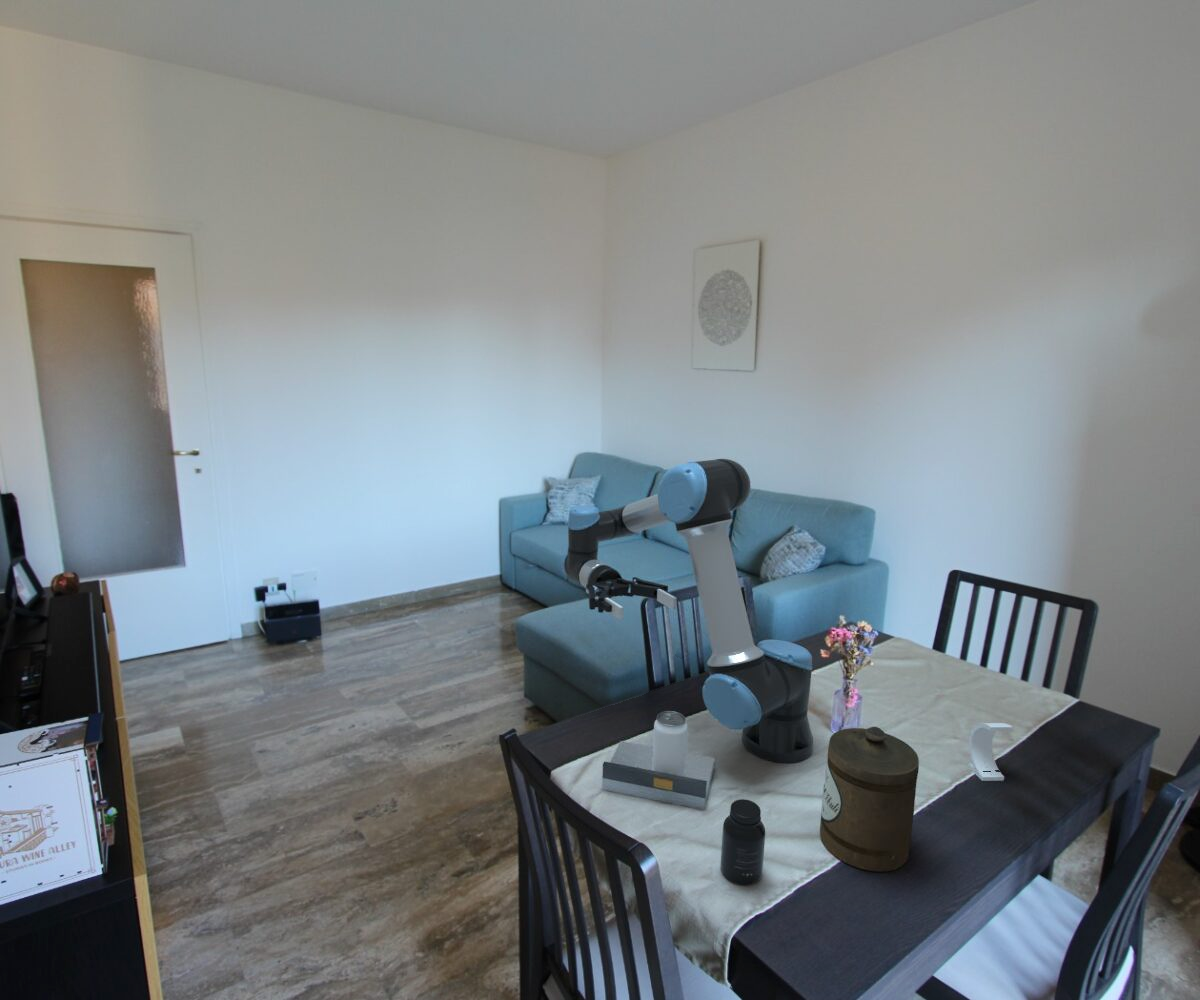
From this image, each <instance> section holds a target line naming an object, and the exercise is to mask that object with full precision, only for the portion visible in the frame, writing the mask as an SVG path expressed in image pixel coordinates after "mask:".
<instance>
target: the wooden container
mask: <svg viewBox="0 0 1200 1000" xmlns="http://www.w3.org/2000/svg"><path fill="white" fill-rule="evenodd" d="M919 764H920V760H919V756H918V753H917V752H916V750H914V748H913V747H911V746H910V745H909V744H908V743H907V742H905V741H903V739H902V740H901V739H900V738H898V737H896V736H894V735H892V734H888V733H886V732H885V731H884V730H883V729H881V728H880V727H878V726H870V727H867V728H865V727H864V728H863V727H861V728H860V727H859V728H857V727H851V728H850V727H849V728H844V729H840V730H838V731H836V732H834V733H833V734H832V735H831V736H830V737H829V741H828V747H827V761H826V768H825V777H824V784H823V793H822V802H821V803H822V805H821V814H820V823H819V837H820V840H821V842H822V844H823V845H824V847H825V848H826V850H828V851H829V852H830V854H832V855H833V856H834V857H835V858H837V859H839V860H840V861H841V862H843V863H845V864H848V865H849V866H852V867H855V868H857V869H861V870H865V871H868V872H870V871H871V872H879V873H881V872H882V873H883V872H891V871H894V870H898V869H899V868H901V867H903V866H904V864H905V863H906V862H907V860H908V858H909V853H910V848H911V838H912V831H913V825H914V823H913V822H914V814H915V804H916V803H915V802H916V791H917V783H918V782H917V780H918V774H919V769H920V768H919V766H920V765H919Z"/></svg>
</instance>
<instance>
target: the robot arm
mask: <svg viewBox="0 0 1200 1000" xmlns="http://www.w3.org/2000/svg"><path fill="white" fill-rule="evenodd" d="M750 493H751V480H750V476H749V474H748V472H747V470H746V469H745V468H744V466H743V465H741V464H740V463H739V462H737V461H735V460H731V459H730V458H729V459H727V458H717V459H711V460H701V461H700V460H699V461H690V462H685V463H681V464H678V465H677V464H676V465H674V466H672V467H670V468H669V469H668V470H667V471H666V472H665V473H664V474H663V476H662V478H661V481H659V485H658V488H657V493H655V494H653V495H651V496H648V497H645V498H642V499H639V500H637V501H633V502H632V503H629V504H626V505H623V506H620V507H617V508H614V509H608V510H603V511H602V510H601V511H599V508H598V507H596V506H593V505H585V504H584V505H575V506H572V507H571V508H570V509H569V512H568V521H567V527H568V529H567V530H568V531H567V534H568V539H567V540H568V541H567V542H568V547H567V551H566V552H565V553H564V555H563V556H562V559H561V561H560V567H561V570H562V572H563V573H564V575H565V576H567V577H568V579H570V580H571V581H573V582H576V583H578V584H579V585H581V587H583V588H585V596H586V597H587V598H588V604H589V605H588V607H589V608H588V609H589V610H591V611H592V610H596V608H597V612H598V613H600V614H602V613H604V611H605V613H608V614H610V615H611V616H613V617H614V618H616V619H617V620H620V621H622V620H624V606H622V605H620V604H619V603H617V602H616V601H614V600H613V599H612V598H614V597H623V596H625V597H628V598H629V597H631V598H632V597H634V596H635V597H643V598H651V599H656V601H657V602H658V603H660V604H662V605H664V606H665V607H667V608H669V609H670V610H672V611H676V610H677V602H678V601H677V600H678V599H677V597H676V596H674V595H672V594H671V593H669V586H668V585H665V584H662V583H656V582H653V581H648V580H644V579H641V578H639V577H636V576H634V577H632V580H627V579H624V578H623V577H622V576H621V574H620V572H619V571H618V570H617V569H614V568H613V567H612V566H609V565H608V564H606V563H604V562H602V561H600V560H599V559H598V551H599V543H600V542H606V541H611V540H613V539H620V538H624V537H631V536H634V535H636V534H639V533H640V532H643V531H645V530H649V529H652V528H655V527H658V526H661V525H665V524H668V523H671V522H672V523H674V524H675V525H674V526H675V528H676V533H677V534H679V535H680V536H682V538H685V540H686V545H687V548H688V553H689V556H690V557H689V558H690V562H691V567H692V571H693V575H694V580H695V583H696V588H697V591H698V592H697V593H698V596H699V600H700V605H701V608H702V614H703V618H704V622H705V626H706V630H707V635H708V640H709V642H710V643H709V644H710V648H711V652H712V653H711V655H710V657H709V659H708V660H707V662H706V663H707V667H708V672H709V677H707V678H706V680H705V681H704V684H703V686H702V690H701V691H702V699H703V702H704V705H705V707H706V710H707V711H708V712H709V714H710V715H711V717H713V719H715V720H717V722H718V723H719V724H721V725H722V726H723V727H725V728H727V729H730V730H735V731H736V730H739V731H740V730H742V732H741V742H742V744H743V745H744V747H745V749H746V750H747V751H749V752H750V753H752V754H753V755H755V756H757V757H759V758H761V759H764V760H767V761H771V762H775V763H784V764H785V763H786V764H787V763H789V764H790V763H798V762H802V761H804V760H807V759H808V758H809V757H810V756H811V755H812V752H813V747H814V746H813V745H814V737H813V734H812V729H811V727H810V726H811V725H810V722H809V719H808V710H809V701H810V690H811V682H812V681H811V680H812V672H813V656H812V654H811V653H810V651H809V650H808V649H807V648H805V647H803V646H801V645H799V644H797V643H793V642H790V641H786V640H779V639H764V640H761V641H759V642H758V643H757V645H755V642H754V638H753V634H752V630H751V629H752V628H751V625H750V622H749V618H748V612H747V608H746V605H745V601H744V595H743V593H742V592H743V591H742V587H741V583H740V579H739V575H738V571H737V566H736V562H735V558H734V553H733V550H732V545H731V540H730V536H729V533H728V532H729V531H728V528H729V527H730V525H731V524H732V522H733V517H732V512H733V511H735V510H737V509H739V508H740V507H741V506H742V505H743V504H744V503H746V501H747V499H748V498H749V495H750ZM629 590H630V592H629ZM596 597H598V599H597V598H596Z"/></svg>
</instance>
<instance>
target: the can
mask: <svg viewBox="0 0 1200 1000" xmlns="http://www.w3.org/2000/svg"><path fill="white" fill-rule="evenodd" d="M652 740H653V741H652V742H653V743H652V747H653V758H652V771H657V772H662V773H668V774H673V775H678V776H683V777H684V775H685V762H686V753H687V744H688V743H687V742H688V741H687V740H688V725H687V722H686V717H685V716H684V714H682V713H680V712H677V711H674V710H672V711H671V710H664V711H662V712H659V713H658V714H657V716H656V720H655V721H654V723H653V739H652Z"/></svg>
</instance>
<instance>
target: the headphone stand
mask: <svg viewBox="0 0 1200 1000" xmlns="http://www.w3.org/2000/svg"><path fill="white" fill-rule="evenodd" d="M1012 731H1013V726H1012V725H1010V724H1008V723H1005V722H986V723H985V722H981V723H980V722H979V723H977V724H975V725H974V726H973V727H972V729H971V732H970V734H969V737H968V738H969V739H968V752H969V757H970V761H971V762H969V763H968V766H967V767H968V768H969V769H970V770H971V771H972V772H973V773H974V775H976V776H977V777H978V778H979V779H980V780H981V782H984V781H985V782H989V781H990V782H994V781H997V782H998V781H1001V782H1002V781H1004V780H1005V776H1004V775H1003V774H1002V772H1001V771H1000V769H999V767H998V766H997V763H996V760H995V757H994V752H993V741H994V740H993V739H994V737H995V734H996V732H1012ZM975 768H976V769H977V770H976V769H975ZM995 770H999V771H1000V772H996V771H995ZM983 771H991V772H983Z"/></svg>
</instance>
